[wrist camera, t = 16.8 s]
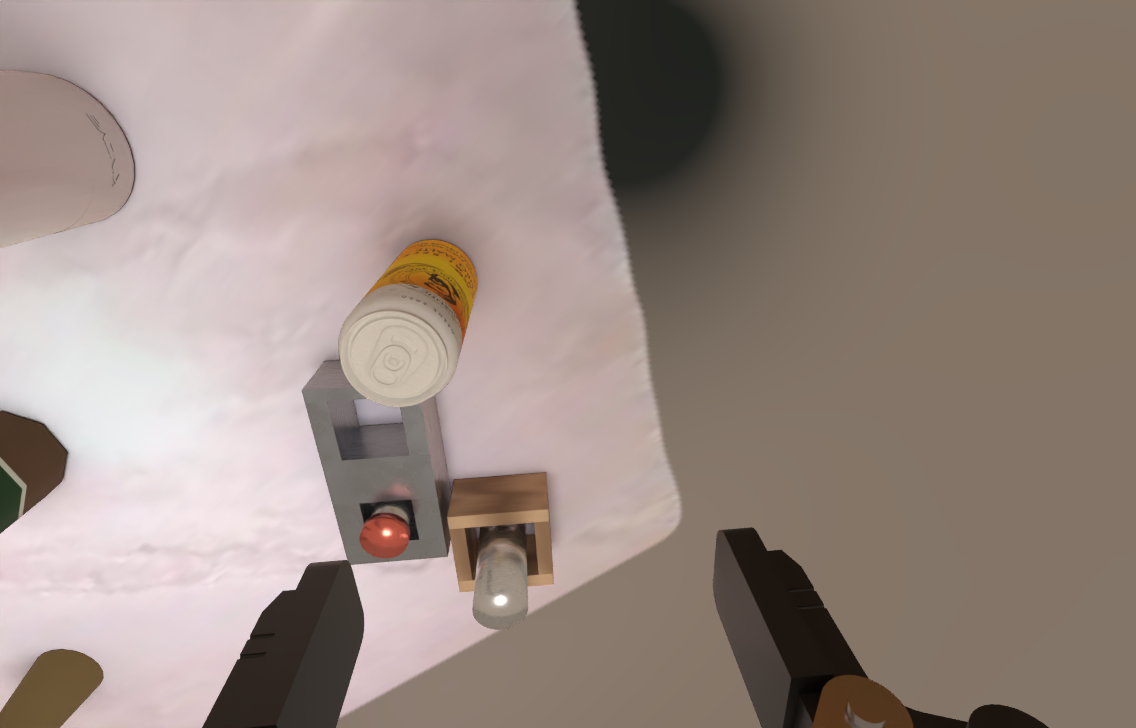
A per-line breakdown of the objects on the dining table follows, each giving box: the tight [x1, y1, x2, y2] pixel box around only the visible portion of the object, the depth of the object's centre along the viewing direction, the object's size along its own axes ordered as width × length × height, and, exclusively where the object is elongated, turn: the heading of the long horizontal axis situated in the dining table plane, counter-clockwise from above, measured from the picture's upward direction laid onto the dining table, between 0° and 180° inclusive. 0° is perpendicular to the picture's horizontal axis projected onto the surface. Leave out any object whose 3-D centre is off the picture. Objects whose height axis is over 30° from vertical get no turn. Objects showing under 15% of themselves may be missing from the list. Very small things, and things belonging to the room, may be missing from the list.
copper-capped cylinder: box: [359, 500, 413, 558], centre depth 46 cm, size 4×4×6 cm
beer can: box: [338, 240, 477, 407], centre depth 35 cm, size 6×6×15 cm
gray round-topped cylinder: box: [473, 523, 528, 630], centre depth 46 cm, size 4×4×11 cm
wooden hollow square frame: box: [447, 473, 554, 592], centre depth 49 cm, size 8×8×5 cm
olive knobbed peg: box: [0, 649, 103, 728], centre depth 51 cm, size 6×6×11 cm
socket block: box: [302, 360, 451, 565], centre depth 46 cm, size 8×16×5 cm, turn 3°
